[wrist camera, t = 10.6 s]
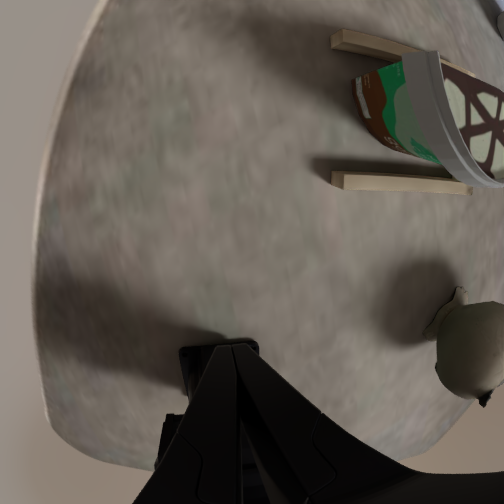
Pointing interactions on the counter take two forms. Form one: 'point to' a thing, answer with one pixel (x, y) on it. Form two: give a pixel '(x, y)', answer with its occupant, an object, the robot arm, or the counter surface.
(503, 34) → the salt shaker
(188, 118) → the counter surface
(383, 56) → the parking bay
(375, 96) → the food container
